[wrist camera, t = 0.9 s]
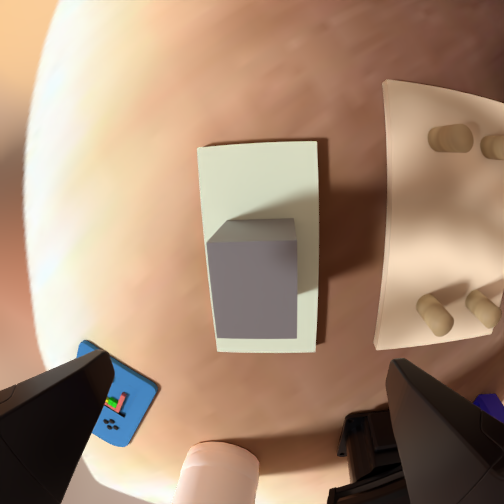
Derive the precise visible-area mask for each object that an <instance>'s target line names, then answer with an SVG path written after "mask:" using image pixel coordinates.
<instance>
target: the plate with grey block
mask: <svg viewBox="0 0 504 504" xmlns="http://www.w3.org/2000/svg"><path fill="white" fill-rule="evenodd" d="M197 157H198V172H199V185H200V198H201V210H202V221H203V232H204V242H205V252H206V262H207V271H208V280H209V289H210V297H211V306H212V314H213V322H214V329H215V337H216V344H217V352H245V353H299V352H315V348H316V330H317V308H318V277H319V188H318V157H317V141H297V142H267V143H248V144H233V145H221V146H210V147H200V148H197Z"/></svg>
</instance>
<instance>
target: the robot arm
mask: <svg viewBox="0 0 504 504" xmlns="http://www.w3.org/2000/svg"><path fill="white" fill-rule="evenodd" d="M114 376H115V370H114V367H113V364H112V361H111V358H110V355H109V353H108V352H107V351H104V350H94V351H92V352H90V353H87V354H85V355H83V356H81V357H78V358H76V359H74V360H72V361H69V362H67V363H65V364H63V365H60V366H58V367H56V368H53V369H51V370H49V371H46V372H44V373H42V374H39V375H37V376H35V377H32V378H30V379H28V380H25V381H23V382H21V383H18V384H17V385H13V386H11V387H9V388H6V389H4V390H1V391H0V504H61V502H62V500H63V497H64V495H65V492H66V490H67V488H68V485H69V483H70V481H71V478H72V476H73V473H74V471H75V469H76V467H77V464H78V462H79V460H80V457H81V455H82V453H83V451H84V449H85V446H86V444H87V442H88V440H89V438H90V435H91V433H92V431H93V429H94V427H95V425H96V423H97V421H98V418H99V416H100V414H101V412H102V409H103V407H104V404H105V401H106V398H107V396H108V393H109V390H110V387H111V385H112V382H113V379H114ZM386 391H387V397H388V403H389V409H390V410H387V411H379V412H371V413H362V414H352V415H348V416H346V417H345V420H344V425H343V429H342V433H341V437H340V441H339V445H338V449H337V456H339V457H344V456H347V460H348V467H349V475H350V483H351V484H348V485H345V486H342V487H338V488H336V487H335V488H332V489H330V490H329V496H328V499H327V504H504V423H502V422H501V421H499V420H498V419H496V418H494V417H493V416H491V415H490V414H488V413H487V412H485V411H484V410H481V409H480V408H479V407H477V406H476V405H474V404H473V403H471V402H470V401H468V400H467V399H465V398H464V397H462V396H461V395H459V394H458V393H456V392H455V391H453V390H452V389H450V388H449V387H447V386H446V385H444V384H443V383H441V382H440V381H438V380H437V379H435V378H434V377H432V376H431V375H429V374H428V373H426V372H425V371H423V370H422V369H420V368H419V367H417V366H416V365H414V364H413V363H411V362H410V361H408V360H407V359H405V358H397V359H393V360H391V362H390V366H389V370H388V374H387V378H386Z"/></svg>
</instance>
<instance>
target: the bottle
mask: <svg viewBox="0 0 504 504" xmlns="http://www.w3.org/2000/svg"><path fill="white" fill-rule="evenodd" d="M180 473H181V475H180V478H179V481H178V484H177V487H176V490H175V493H174V496H173V499H172V502H171V504H255V496H256V490H257V486H258V480H259V461H258V460H257V458H256V456H254V455H253V454H252V453H250V452H249V451H248V450H246V449H244V448H241V447H239V446H237V445H233V444H229V443H225V442H212V441H210V442H204V443H198V444H196V445H194V446H192V447H191V448H190V450H189V451H188V454H187V457H186V459H185V461H184V463H183V465H182V468H181V472H180Z"/></svg>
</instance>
